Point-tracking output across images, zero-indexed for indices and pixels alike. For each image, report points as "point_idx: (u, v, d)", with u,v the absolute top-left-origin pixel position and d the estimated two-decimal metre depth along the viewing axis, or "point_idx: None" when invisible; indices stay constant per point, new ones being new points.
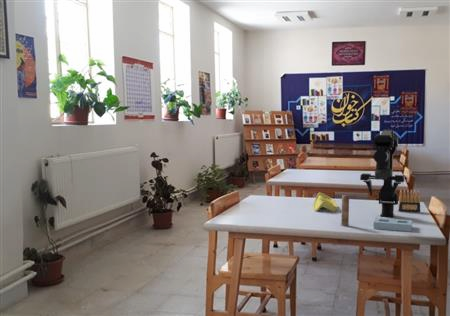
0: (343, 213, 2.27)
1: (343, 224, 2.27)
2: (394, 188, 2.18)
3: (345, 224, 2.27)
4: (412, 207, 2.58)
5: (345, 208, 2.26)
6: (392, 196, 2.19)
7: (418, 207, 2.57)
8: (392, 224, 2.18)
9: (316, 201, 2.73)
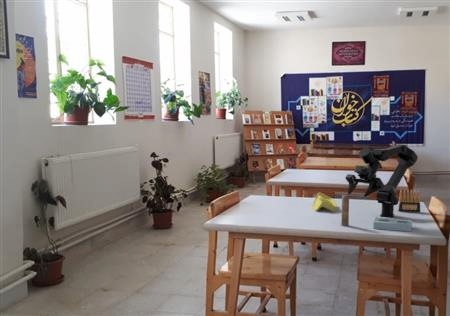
0: (343, 213, 2.27)
1: (343, 224, 2.27)
2: (368, 188, 2.28)
3: (345, 224, 2.27)
4: (412, 207, 2.58)
5: (345, 208, 2.26)
6: (364, 194, 2.28)
7: (418, 207, 2.57)
8: (392, 224, 2.18)
9: (316, 201, 2.73)
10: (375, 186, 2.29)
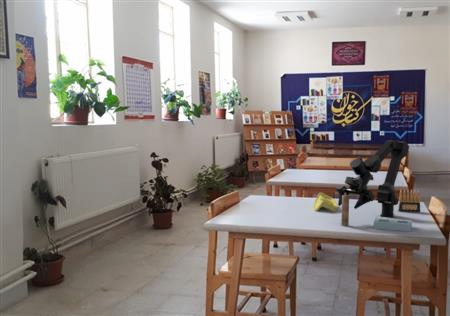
0: (343, 213, 2.27)
1: (343, 224, 2.27)
2: (359, 199, 2.25)
3: (345, 224, 2.27)
4: (412, 207, 2.58)
5: (345, 208, 2.26)
6: (354, 206, 2.24)
7: (418, 207, 2.57)
8: (392, 224, 2.18)
9: (317, 201, 2.73)
10: (365, 198, 2.25)
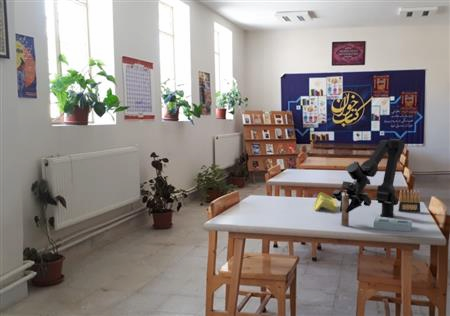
0: (343, 213, 2.27)
1: (343, 224, 2.27)
2: (350, 203, 2.26)
3: (345, 224, 2.27)
4: (412, 207, 2.58)
5: (345, 208, 2.26)
6: (346, 210, 2.25)
7: (418, 207, 2.57)
8: (392, 224, 2.18)
9: (317, 201, 2.73)
10: (357, 202, 2.26)
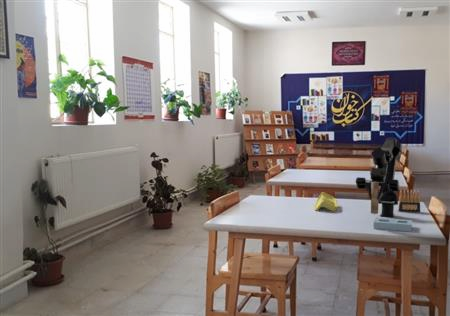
0: (374, 200, 2.20)
1: (374, 212, 2.20)
2: (381, 190, 2.20)
3: (376, 212, 2.20)
4: (412, 207, 2.58)
5: (376, 195, 2.19)
6: (378, 197, 2.19)
7: (418, 207, 2.57)
8: (392, 224, 2.18)
9: (318, 201, 2.74)
10: (386, 188, 2.21)
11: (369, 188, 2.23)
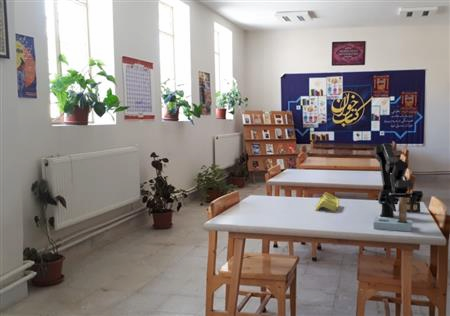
0: (404, 216, 2.20)
1: None
2: (412, 202, 2.21)
3: None
4: None
5: (405, 210, 2.20)
6: (412, 209, 2.19)
7: (418, 207, 2.57)
8: (392, 224, 2.18)
9: (320, 201, 2.74)
10: (415, 199, 2.23)
11: (392, 200, 2.22)
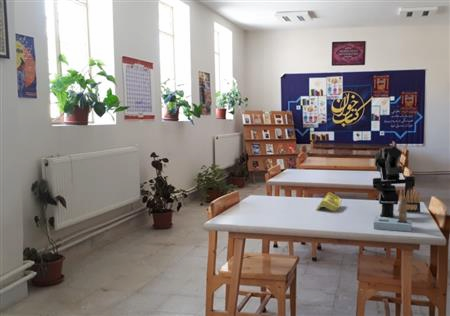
0: (404, 216, 2.20)
1: None
2: (406, 187, 2.27)
3: None
4: (412, 207, 2.58)
5: (405, 210, 2.20)
6: (405, 195, 2.26)
7: (418, 207, 2.57)
8: (392, 224, 2.18)
9: (323, 201, 2.74)
10: (410, 185, 2.29)
11: (381, 188, 2.31)
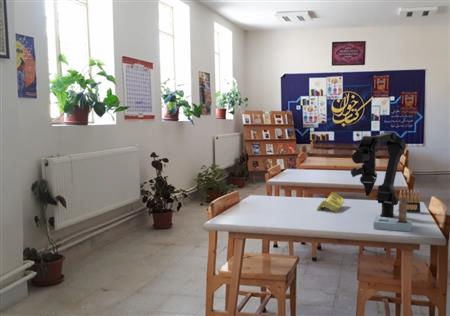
0: (404, 216, 2.20)
1: None
2: None
3: None
4: (412, 207, 2.58)
5: (405, 210, 2.20)
6: (366, 195, 2.32)
7: (418, 207, 2.57)
8: (392, 224, 2.18)
9: (325, 201, 2.74)
10: (367, 183, 2.28)
11: None
